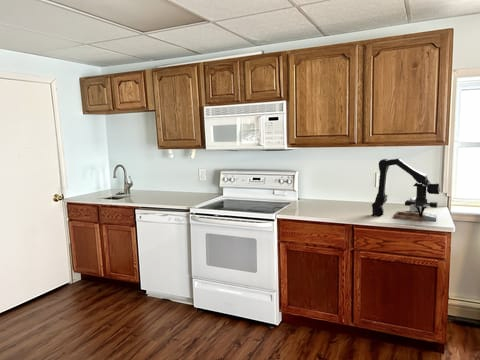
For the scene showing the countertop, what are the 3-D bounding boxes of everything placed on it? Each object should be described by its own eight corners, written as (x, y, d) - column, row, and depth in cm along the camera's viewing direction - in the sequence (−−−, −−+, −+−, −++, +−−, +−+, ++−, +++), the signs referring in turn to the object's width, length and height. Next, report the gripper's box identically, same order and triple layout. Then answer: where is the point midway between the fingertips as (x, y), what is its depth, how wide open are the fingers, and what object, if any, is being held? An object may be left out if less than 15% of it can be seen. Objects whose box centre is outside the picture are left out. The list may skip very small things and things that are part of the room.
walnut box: (393, 219, 241) (393, 215, 241) (397, 215, 251) (397, 211, 251) (423, 222, 231) (423, 217, 231) (426, 218, 241) (426, 214, 240)
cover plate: (421, 219, 234) (422, 215, 233) (422, 216, 240) (423, 212, 240) (435, 222, 230) (436, 218, 229) (436, 219, 237) (437, 215, 236)
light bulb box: (423, 215, 250) (424, 199, 249) (413, 215, 251) (413, 199, 250) (419, 211, 261) (419, 196, 259) (409, 211, 262) (409, 196, 260)
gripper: (403, 194, 234) (402, 217, 236) (435, 196, 223) (435, 220, 225) (406, 191, 243) (406, 214, 245) (438, 193, 232) (437, 217, 234)
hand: (420, 216), depth 237 cm, fingers closed
